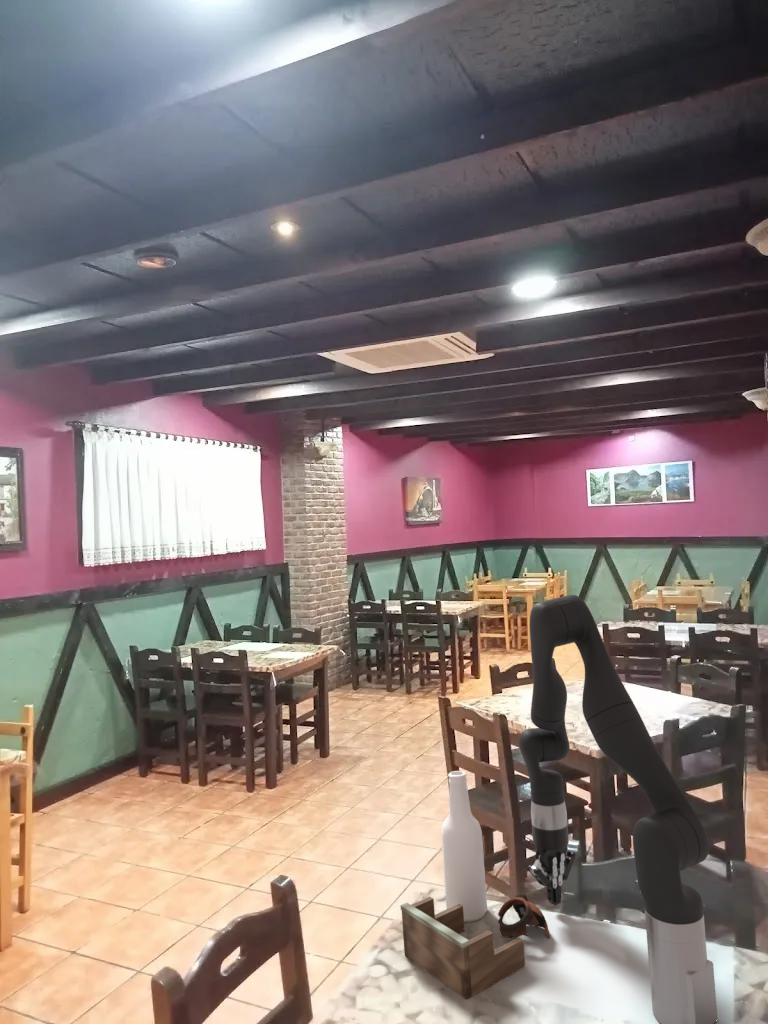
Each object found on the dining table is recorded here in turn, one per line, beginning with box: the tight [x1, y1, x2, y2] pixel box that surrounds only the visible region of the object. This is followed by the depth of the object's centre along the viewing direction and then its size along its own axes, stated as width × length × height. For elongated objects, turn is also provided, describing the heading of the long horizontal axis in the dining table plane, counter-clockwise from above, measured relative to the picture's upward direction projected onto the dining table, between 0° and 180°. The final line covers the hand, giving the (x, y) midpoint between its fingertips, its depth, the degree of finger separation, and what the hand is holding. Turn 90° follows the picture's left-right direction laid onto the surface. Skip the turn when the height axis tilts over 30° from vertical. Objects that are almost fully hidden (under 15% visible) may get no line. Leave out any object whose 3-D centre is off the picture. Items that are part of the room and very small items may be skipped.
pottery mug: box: [497, 892, 551, 940], centre depth 151 cm, size 12×10×8 cm
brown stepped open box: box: [399, 896, 526, 1000], centre depth 142 cm, size 18×15×10 cm
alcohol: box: [440, 770, 488, 923], centre depth 161 cm, size 9×9×30 cm
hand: (555, 902), depth 158 cm, fingers closed
